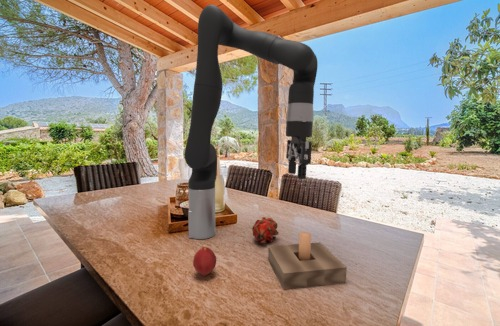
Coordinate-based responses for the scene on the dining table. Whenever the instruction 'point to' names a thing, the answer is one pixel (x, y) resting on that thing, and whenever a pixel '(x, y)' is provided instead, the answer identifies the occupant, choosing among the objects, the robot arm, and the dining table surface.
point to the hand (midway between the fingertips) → (296, 175)
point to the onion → (204, 261)
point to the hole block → (305, 266)
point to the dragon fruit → (265, 230)
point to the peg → (304, 246)
